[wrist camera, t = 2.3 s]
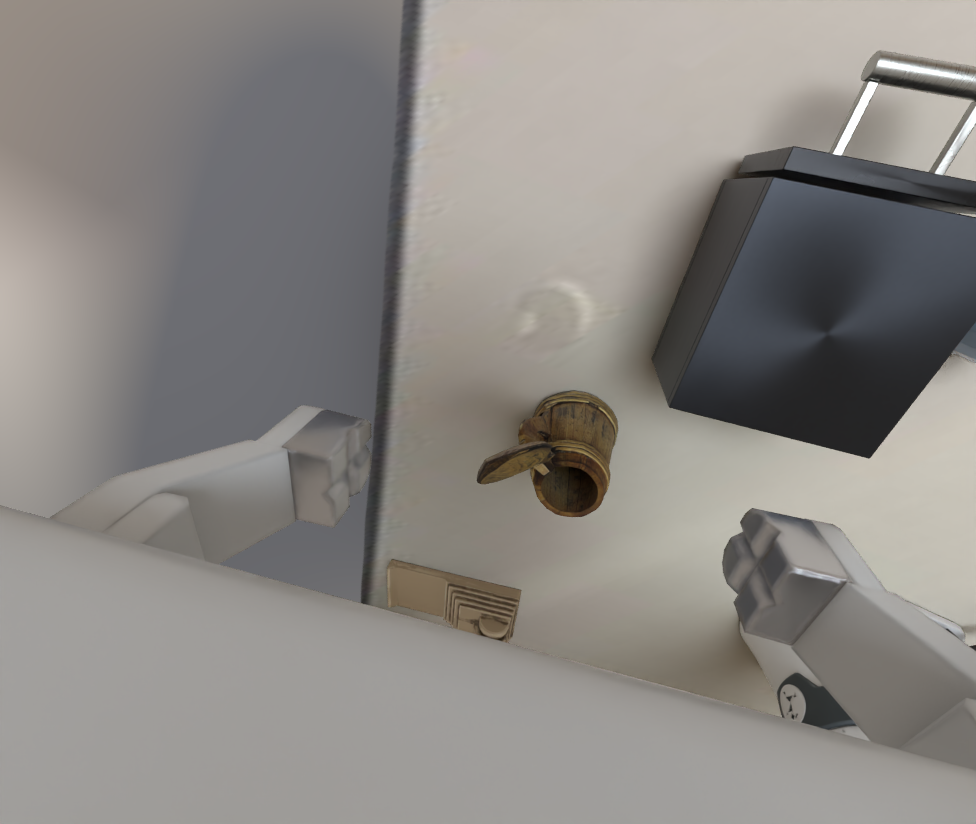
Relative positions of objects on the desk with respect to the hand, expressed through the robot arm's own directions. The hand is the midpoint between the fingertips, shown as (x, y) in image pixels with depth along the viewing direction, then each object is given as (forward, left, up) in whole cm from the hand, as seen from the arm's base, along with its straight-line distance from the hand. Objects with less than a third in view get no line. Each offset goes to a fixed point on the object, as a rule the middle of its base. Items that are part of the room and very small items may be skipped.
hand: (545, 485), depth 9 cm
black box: (-17, 0, -34) cm, 38 cm away
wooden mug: (-3, +16, -34) cm, 38 cm away
